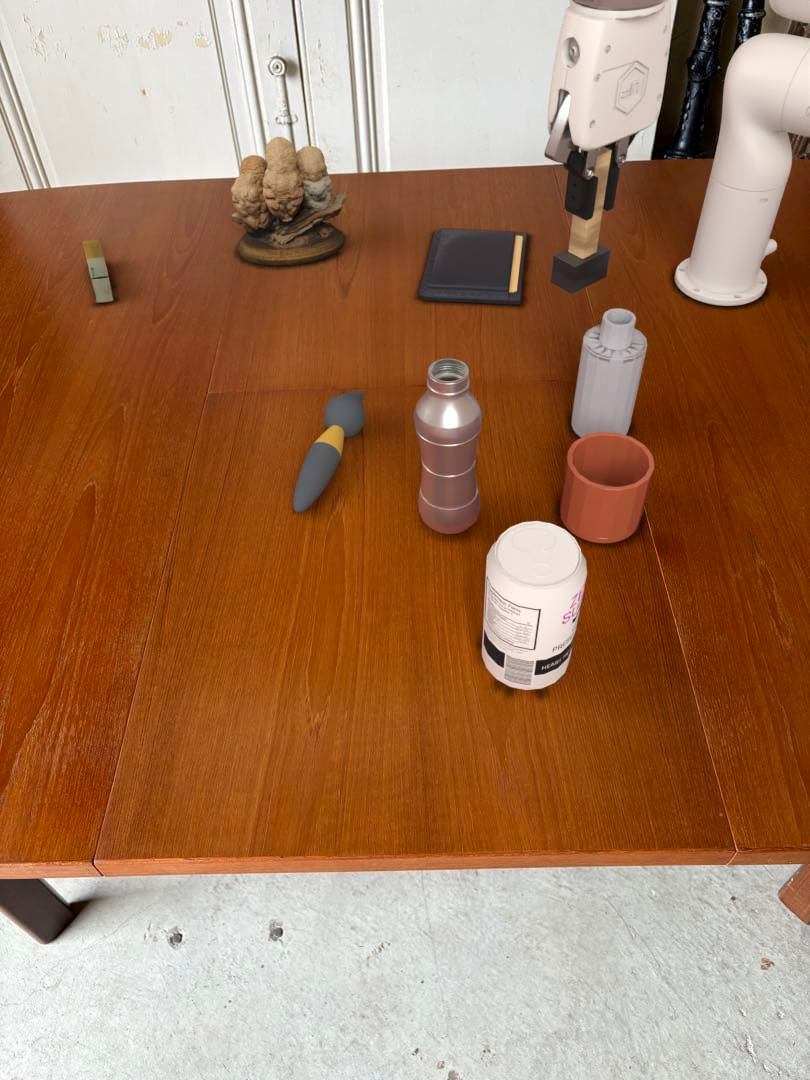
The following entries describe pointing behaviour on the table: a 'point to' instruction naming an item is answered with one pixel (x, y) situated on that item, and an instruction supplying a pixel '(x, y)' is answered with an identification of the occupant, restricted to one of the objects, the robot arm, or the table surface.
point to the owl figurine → (286, 206)
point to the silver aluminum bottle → (448, 448)
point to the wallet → (475, 266)
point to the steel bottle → (608, 375)
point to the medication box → (98, 271)
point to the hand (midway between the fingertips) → (588, 208)
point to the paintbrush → (328, 447)
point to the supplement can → (532, 604)
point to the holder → (605, 486)
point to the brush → (585, 241)
